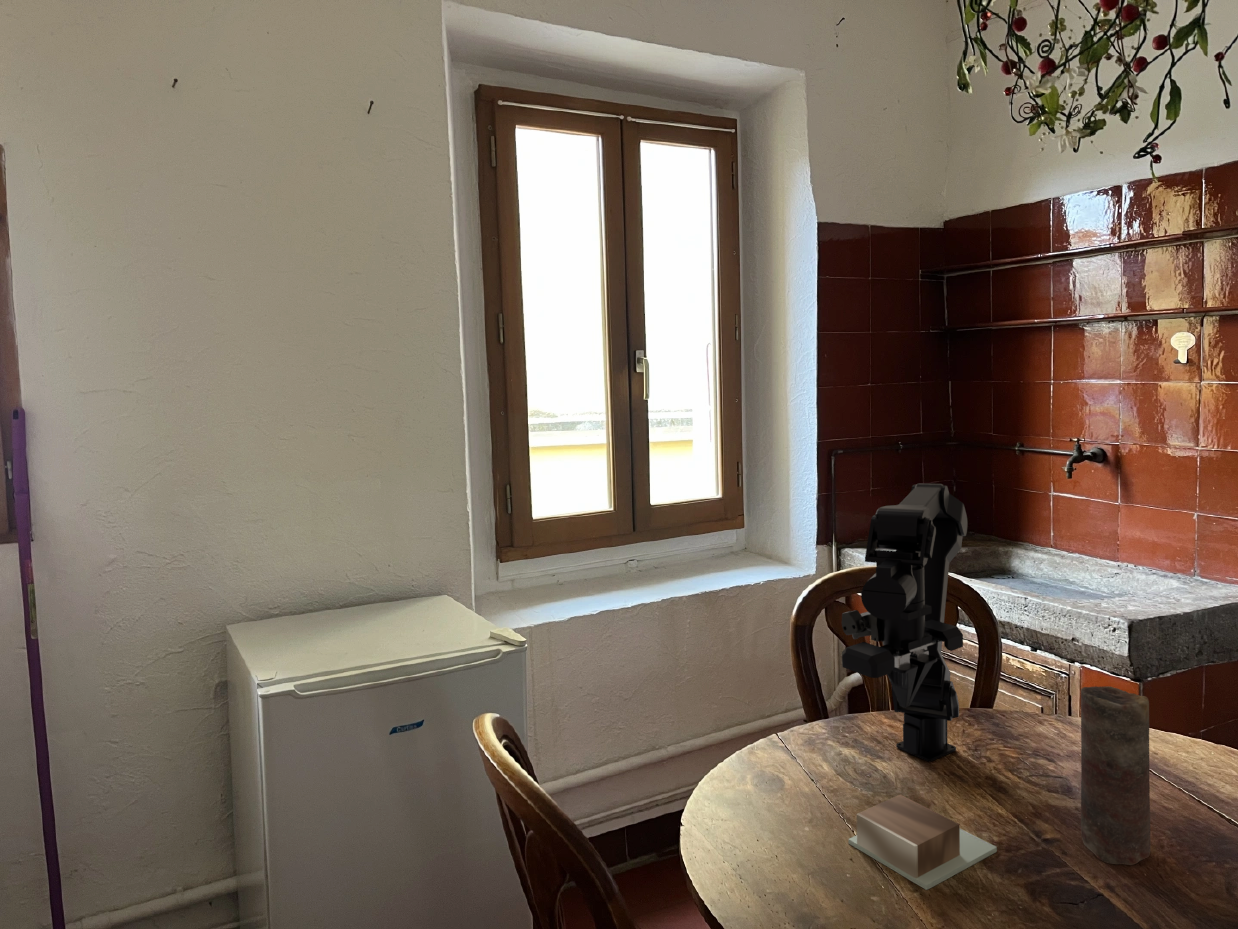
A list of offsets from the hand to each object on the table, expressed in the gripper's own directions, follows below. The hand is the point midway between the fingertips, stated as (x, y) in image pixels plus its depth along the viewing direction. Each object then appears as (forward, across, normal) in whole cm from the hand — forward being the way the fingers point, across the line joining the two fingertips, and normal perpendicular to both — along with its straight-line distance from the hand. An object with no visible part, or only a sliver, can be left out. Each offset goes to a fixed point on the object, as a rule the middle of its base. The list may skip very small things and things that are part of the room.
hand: (904, 706), depth 120 cm
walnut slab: (+10, +9, +11) cm, 17 cm away
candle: (+12, -8, +25) cm, 29 cm away
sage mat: (+12, +10, +11) cm, 19 cm away
